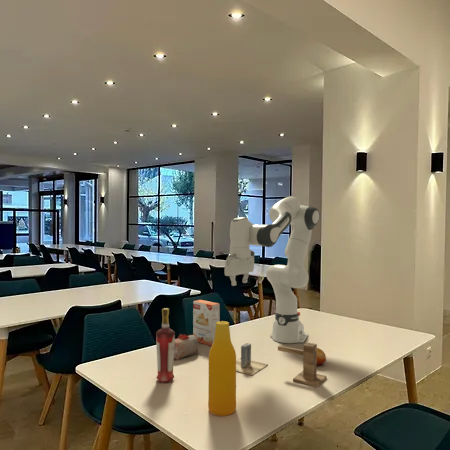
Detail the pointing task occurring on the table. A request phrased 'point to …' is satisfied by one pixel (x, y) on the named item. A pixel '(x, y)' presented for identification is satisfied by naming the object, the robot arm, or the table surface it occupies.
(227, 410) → the beer bottle
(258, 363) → the mat
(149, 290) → the table surface
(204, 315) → the cracker box
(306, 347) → the stand
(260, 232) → the robot arm
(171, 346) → the liquor
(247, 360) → the arch
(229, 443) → the table surface
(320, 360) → the fruit
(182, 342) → the food item
